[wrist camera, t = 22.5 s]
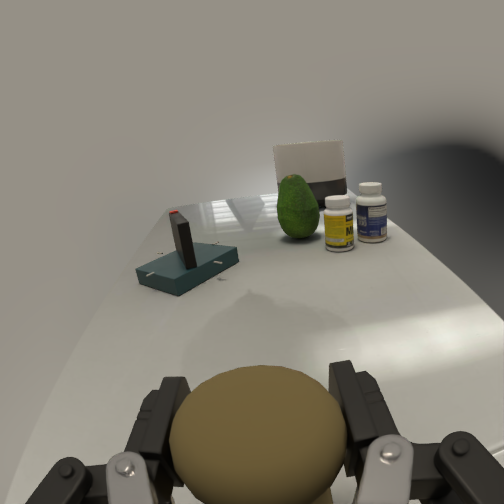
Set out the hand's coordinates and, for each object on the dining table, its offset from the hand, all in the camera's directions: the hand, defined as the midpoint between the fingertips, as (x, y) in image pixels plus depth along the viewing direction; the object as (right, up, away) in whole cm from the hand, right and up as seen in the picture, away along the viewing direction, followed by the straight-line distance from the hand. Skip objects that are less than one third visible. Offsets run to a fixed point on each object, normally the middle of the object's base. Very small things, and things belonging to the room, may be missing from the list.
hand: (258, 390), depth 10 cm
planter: (+17, +18, +74) cm, 79 cm away
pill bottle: (+21, +7, +41) cm, 47 cm away
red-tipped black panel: (-10, +4, +36) cm, 38 cm away
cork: (+1, -9, +1) cm, 10 cm away
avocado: (+9, +7, +47) cm, 48 cm away
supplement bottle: (+14, +6, +39) cm, 42 cm away
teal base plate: (-10, +2, +37) cm, 39 cm away
